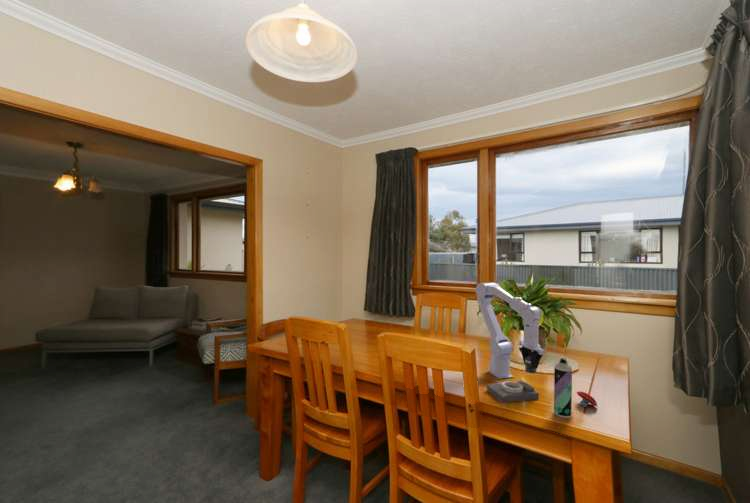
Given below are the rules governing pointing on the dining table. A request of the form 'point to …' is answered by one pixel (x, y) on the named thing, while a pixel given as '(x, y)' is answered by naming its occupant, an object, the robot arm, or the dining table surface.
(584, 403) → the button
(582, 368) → the dining table surface
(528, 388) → the camera body
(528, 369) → the lens
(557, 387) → the spray can
